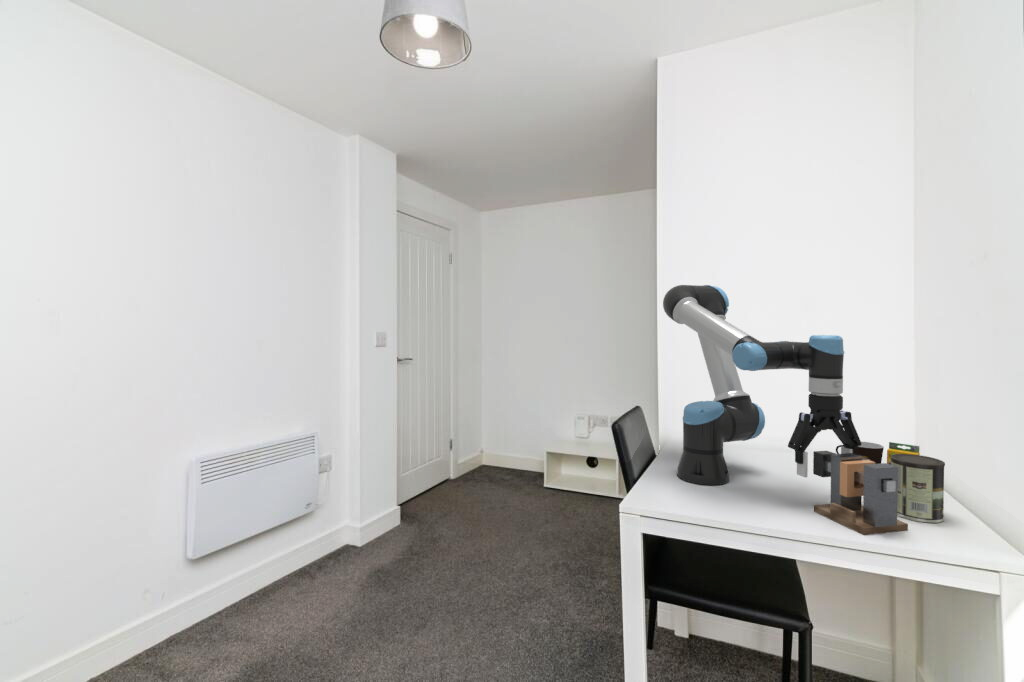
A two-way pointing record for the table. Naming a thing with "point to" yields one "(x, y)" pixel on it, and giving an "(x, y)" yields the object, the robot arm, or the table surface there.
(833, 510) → the tray
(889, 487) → the shaft
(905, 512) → the coffee can
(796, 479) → the table surface
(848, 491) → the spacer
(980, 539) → the table surface
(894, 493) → the bearing blocks
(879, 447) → the coffee mug
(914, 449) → the crayon box
